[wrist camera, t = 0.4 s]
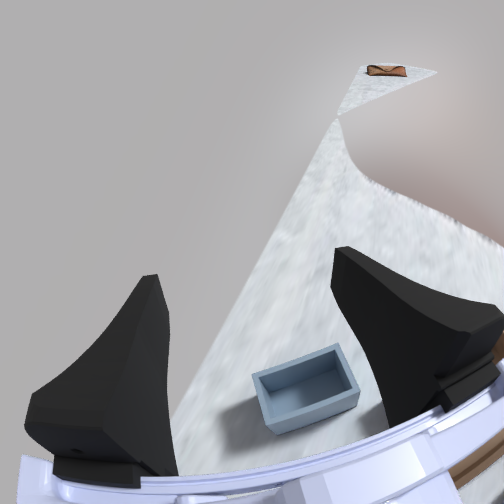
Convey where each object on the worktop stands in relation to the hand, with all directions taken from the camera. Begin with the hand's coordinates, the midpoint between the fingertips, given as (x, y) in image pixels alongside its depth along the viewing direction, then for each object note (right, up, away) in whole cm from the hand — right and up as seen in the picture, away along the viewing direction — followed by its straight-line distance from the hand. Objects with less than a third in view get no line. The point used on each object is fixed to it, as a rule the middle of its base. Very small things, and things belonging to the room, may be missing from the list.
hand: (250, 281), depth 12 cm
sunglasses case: (+58, +77, +88) cm, 130 cm away
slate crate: (+6, -13, +14) cm, 20 cm away
